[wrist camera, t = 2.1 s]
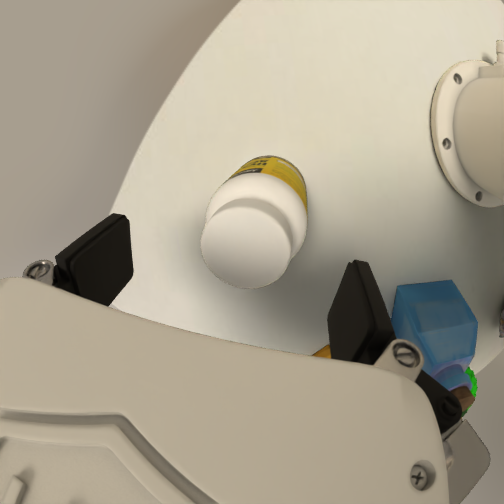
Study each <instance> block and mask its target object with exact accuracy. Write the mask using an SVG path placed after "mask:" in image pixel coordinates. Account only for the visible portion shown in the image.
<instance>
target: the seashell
mask: <svg viewBox="0 0 504 504" xmlns="http://www.w3.org/2000/svg"><path fill="white" fill-rule="evenodd" d="M499 337H504V309H503V311H502V313H501V319H500V336H499Z"/></svg>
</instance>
